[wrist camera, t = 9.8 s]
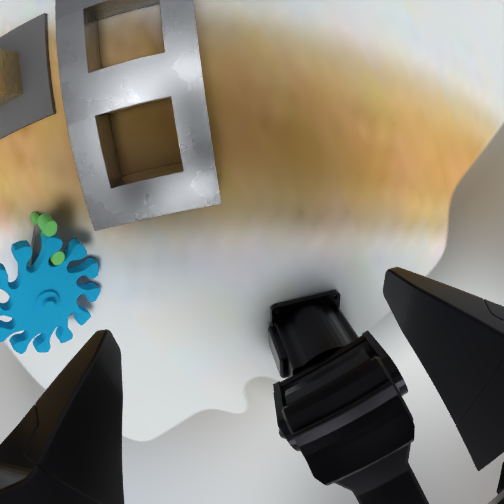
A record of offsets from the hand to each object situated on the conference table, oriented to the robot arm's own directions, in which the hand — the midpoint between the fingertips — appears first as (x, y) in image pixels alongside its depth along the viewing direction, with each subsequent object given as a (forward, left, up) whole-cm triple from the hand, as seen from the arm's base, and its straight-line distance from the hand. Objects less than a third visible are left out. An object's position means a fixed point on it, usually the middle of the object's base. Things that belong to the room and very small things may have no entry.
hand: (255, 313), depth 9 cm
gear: (+13, +3, -13) cm, 19 cm away
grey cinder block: (+4, -8, -13) cm, 16 cm away
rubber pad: (+14, -12, -13) cm, 22 cm away
